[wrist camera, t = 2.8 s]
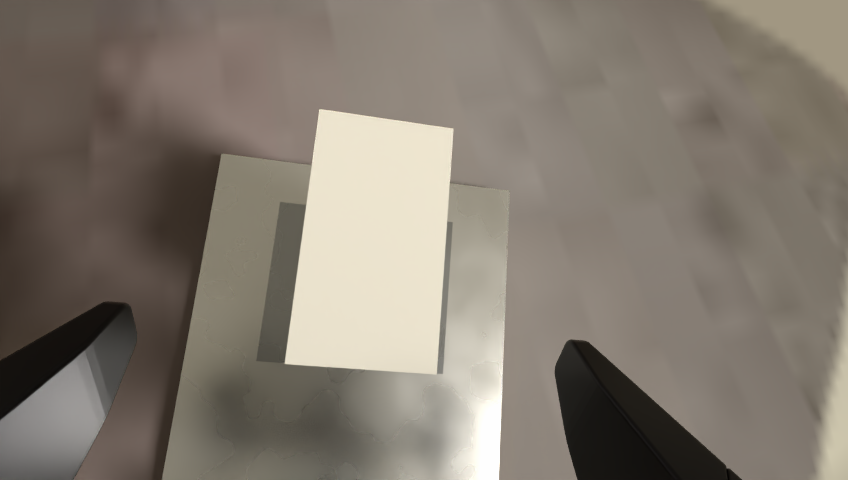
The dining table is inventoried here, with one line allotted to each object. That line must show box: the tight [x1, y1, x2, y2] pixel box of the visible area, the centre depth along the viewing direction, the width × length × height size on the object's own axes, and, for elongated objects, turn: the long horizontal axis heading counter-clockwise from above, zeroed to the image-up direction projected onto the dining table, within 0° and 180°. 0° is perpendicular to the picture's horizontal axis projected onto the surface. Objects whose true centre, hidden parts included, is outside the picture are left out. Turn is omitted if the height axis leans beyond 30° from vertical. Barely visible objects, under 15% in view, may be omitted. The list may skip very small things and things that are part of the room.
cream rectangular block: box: [285, 109, 453, 375], centre depth 13 cm, size 4×2×10 cm, turn 175°
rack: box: [162, 154, 510, 480], centre depth 17 cm, size 19×12×3 cm, turn 175°
